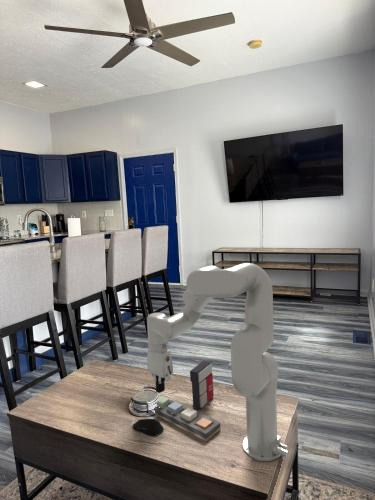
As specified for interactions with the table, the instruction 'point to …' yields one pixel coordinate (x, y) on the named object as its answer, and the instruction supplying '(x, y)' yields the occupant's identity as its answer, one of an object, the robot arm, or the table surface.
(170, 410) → the key slate
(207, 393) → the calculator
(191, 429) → the keypad
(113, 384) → the table surface
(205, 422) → the key terracotta
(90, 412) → the table surface
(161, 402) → the key sage
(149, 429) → the gaming mouse
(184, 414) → the key ivory
